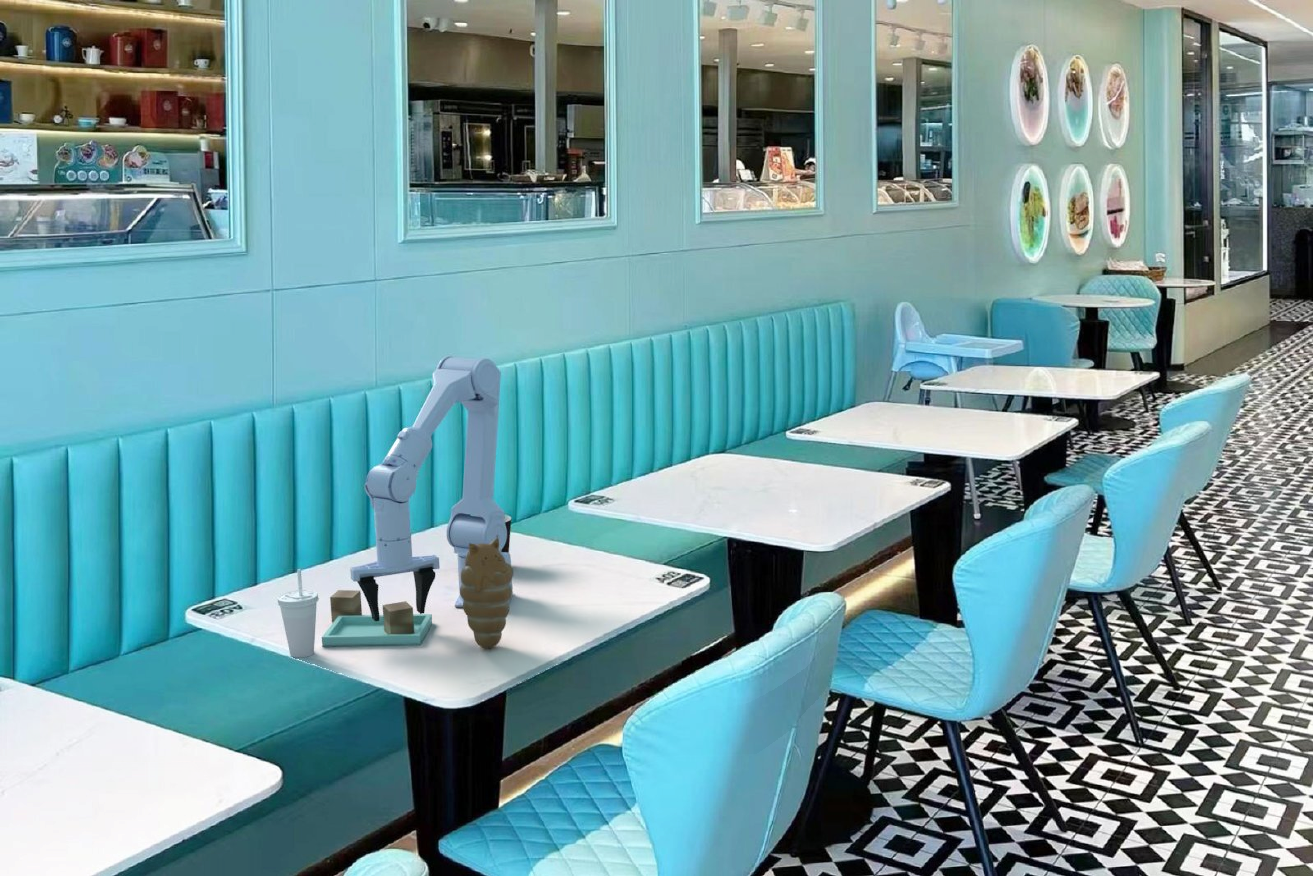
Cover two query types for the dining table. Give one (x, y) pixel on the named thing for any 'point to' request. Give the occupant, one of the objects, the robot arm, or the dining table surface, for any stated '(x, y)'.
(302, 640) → the smoothie
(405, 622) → the block
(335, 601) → the block
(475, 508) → the robot arm
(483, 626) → the cat ice cream
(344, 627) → the tray
